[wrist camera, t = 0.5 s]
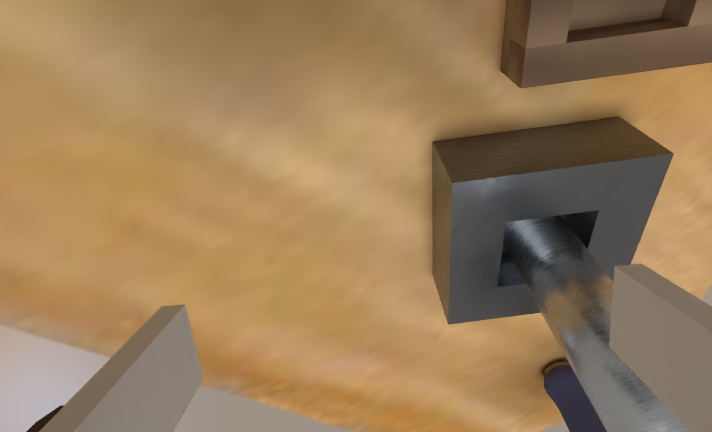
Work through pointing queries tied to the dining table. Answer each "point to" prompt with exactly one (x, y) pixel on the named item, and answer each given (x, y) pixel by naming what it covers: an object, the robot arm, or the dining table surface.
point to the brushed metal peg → (584, 322)
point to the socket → (536, 205)
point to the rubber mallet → (571, 399)
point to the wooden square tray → (602, 38)
